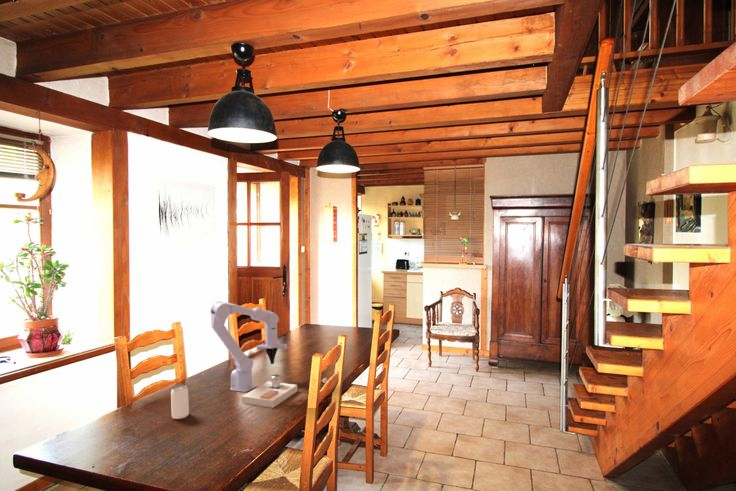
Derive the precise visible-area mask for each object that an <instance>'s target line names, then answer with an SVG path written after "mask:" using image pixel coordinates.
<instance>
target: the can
mask: <svg viewBox="0 0 736 491" xmlns="http://www.w3.org/2000/svg"><path fill="white" fill-rule="evenodd" d="M170 403H171V404H170V405H171V408H170V409H171V417H172V419H174V420H181V419H185V418H188V416H189V413H190V410H189V409H190V407H189V406H190V405H189V404H190V403H189V389H188V386H187V385H186V384H177V385H175V386H173V387H171V391H170Z"/></svg>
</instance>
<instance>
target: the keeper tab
mask: <svg viewBox="0 0 736 491" xmlns="http://www.w3.org/2000/svg"><path fill="white" fill-rule="evenodd" d="M277 393H278V391H273V390H269V391H268V392H266V393H265V394H263V395H262V396H260V398H264V399H269V398H271V397H272V396H274V395H275V394H277Z"/></svg>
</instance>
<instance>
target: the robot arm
mask: <svg viewBox="0 0 736 491" xmlns="http://www.w3.org/2000/svg"><path fill="white" fill-rule="evenodd" d="M209 313H210V324H211V328H212V329H213V330H214V332H215V334H216V335H217V336H218V338H219V339H220V341H221V342H222V343H223V345H224V347H225V348H226V349H227V351H228V352H229V353H230V355H231V357H232V359H233V364H234V365H235V366H236V369H233V370H232V372H231V374H230V388H229V390H230V391H234V392H244V393H248V392H250V390H251V391H252V390H254V389H255V388H257V385H256V384H255V385H254V384H253V372H252V371H253V370H252V369H253V367H254V361H253V359H252V358H250V357H248V356H247V355H246V354H245V353H244V351H243V350H242V349H241V347H240V346H239V344H238V343H237V342H236V340H235V338H234V337H233V335H232V334H231V333H230V332H229V329H227V327H226V326H225V324H226V320H228V318H229V317H230V315H234V314H235V313H237V314H241V315H246V316H250V318H251V320H254V321H257V322H262V323H265V324H264V326H265V327H264V328H265V344H259V345H256V350H257V351H259V350H265V353H266V354H267V357H268V359H269V362H270V365H274V363H275V358H276V356H277V352H278V350H280V349H282V350H283V349H284V350H285V349H287V348H288V344H287V343H279V342H278V323H279V321H280V317H279V316H278V315H279V314H277V313H275V312H272V311H271V310H269V309H267V310H265V309H263V308H262V307H259V306H257V307H254V308H249V307H244V306H242V305H240V304H239V305H238V304H235V303H232V302H231V303H230V302H225V301H224V302H223V301H215V302H214V303H213V304H212V305H211V308H210V312H209Z"/></svg>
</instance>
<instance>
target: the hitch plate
mask: <svg viewBox="0 0 736 491" xmlns="http://www.w3.org/2000/svg"><path fill="white" fill-rule="evenodd" d="M269 390H273V391H278V393H277V394H275V395H274V396H272V397H271V398H269V399H264V398H260V396H262V395H263V394H265V393H266V392H268V391H269ZM297 392H298V384H294V383H285V382H281V388H280V389H272V381H270V380H269V381H268V380H267V381H265V382H264V383H262V384H261V385H259V386H258V387H257V386H256V387H255V388H253V389H251V391H250V390H249V391H248V392H246V393H245V394H243V395H242V396H241V404H244V405H251V406H258V407H266V408H272V409H274V408H275V407H277V406H278V405H279V404H281V403H282V402H284V401H285V400H287V399H288V398H290V397H291V396H293V395H294V394H296V393H297Z"/></svg>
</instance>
